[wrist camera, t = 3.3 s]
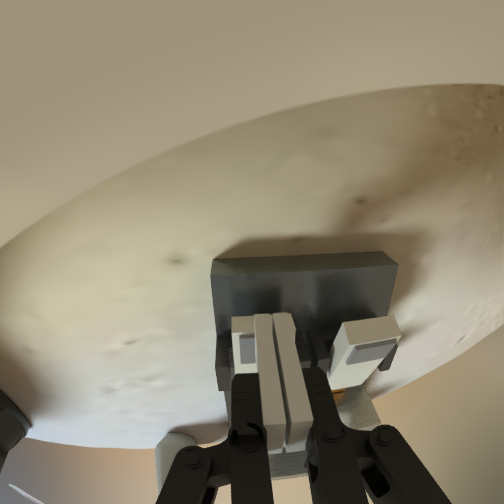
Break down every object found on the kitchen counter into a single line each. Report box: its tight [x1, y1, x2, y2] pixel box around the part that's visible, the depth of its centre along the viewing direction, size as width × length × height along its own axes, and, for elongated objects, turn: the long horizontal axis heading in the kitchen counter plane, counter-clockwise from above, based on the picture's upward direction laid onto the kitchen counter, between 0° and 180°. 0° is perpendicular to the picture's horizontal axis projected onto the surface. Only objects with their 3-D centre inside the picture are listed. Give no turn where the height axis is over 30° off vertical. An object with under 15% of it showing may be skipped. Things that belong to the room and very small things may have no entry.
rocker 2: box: [327, 315, 402, 390], centre depth 18 cm, size 4×8×2 cm, turn 1°
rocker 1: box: [232, 313, 296, 375], centre depth 17 cm, size 4×8×2 cm, turn 1°
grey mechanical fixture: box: [210, 251, 398, 480], centre depth 21 cm, size 13×22×8 cm, turn 1°
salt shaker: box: [155, 433, 197, 495], centre depth 23 cm, size 6×6×13 cm
